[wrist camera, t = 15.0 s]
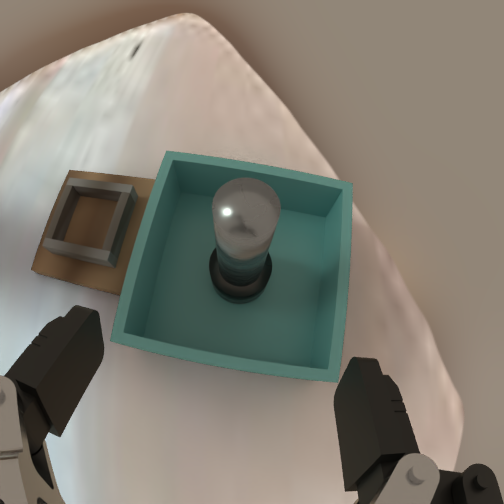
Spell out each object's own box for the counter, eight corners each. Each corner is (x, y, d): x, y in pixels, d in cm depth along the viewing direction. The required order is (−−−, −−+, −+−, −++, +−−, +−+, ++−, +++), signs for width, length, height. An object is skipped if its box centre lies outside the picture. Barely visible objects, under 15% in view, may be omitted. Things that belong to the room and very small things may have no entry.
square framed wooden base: (37, 273, 26) (20, 262, 23) (73, 176, 29) (62, 159, 26) (134, 298, 26) (123, 290, 23) (166, 187, 30) (160, 168, 27)
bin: (135, 346, 24) (110, 341, 19) (176, 189, 30) (166, 150, 24) (314, 379, 24) (338, 382, 19) (331, 216, 30) (352, 183, 24)
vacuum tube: (206, 298, 25) (186, 242, 14) (217, 245, 27) (209, 159, 16) (262, 308, 25) (288, 261, 14) (271, 255, 27) (300, 175, 16)
